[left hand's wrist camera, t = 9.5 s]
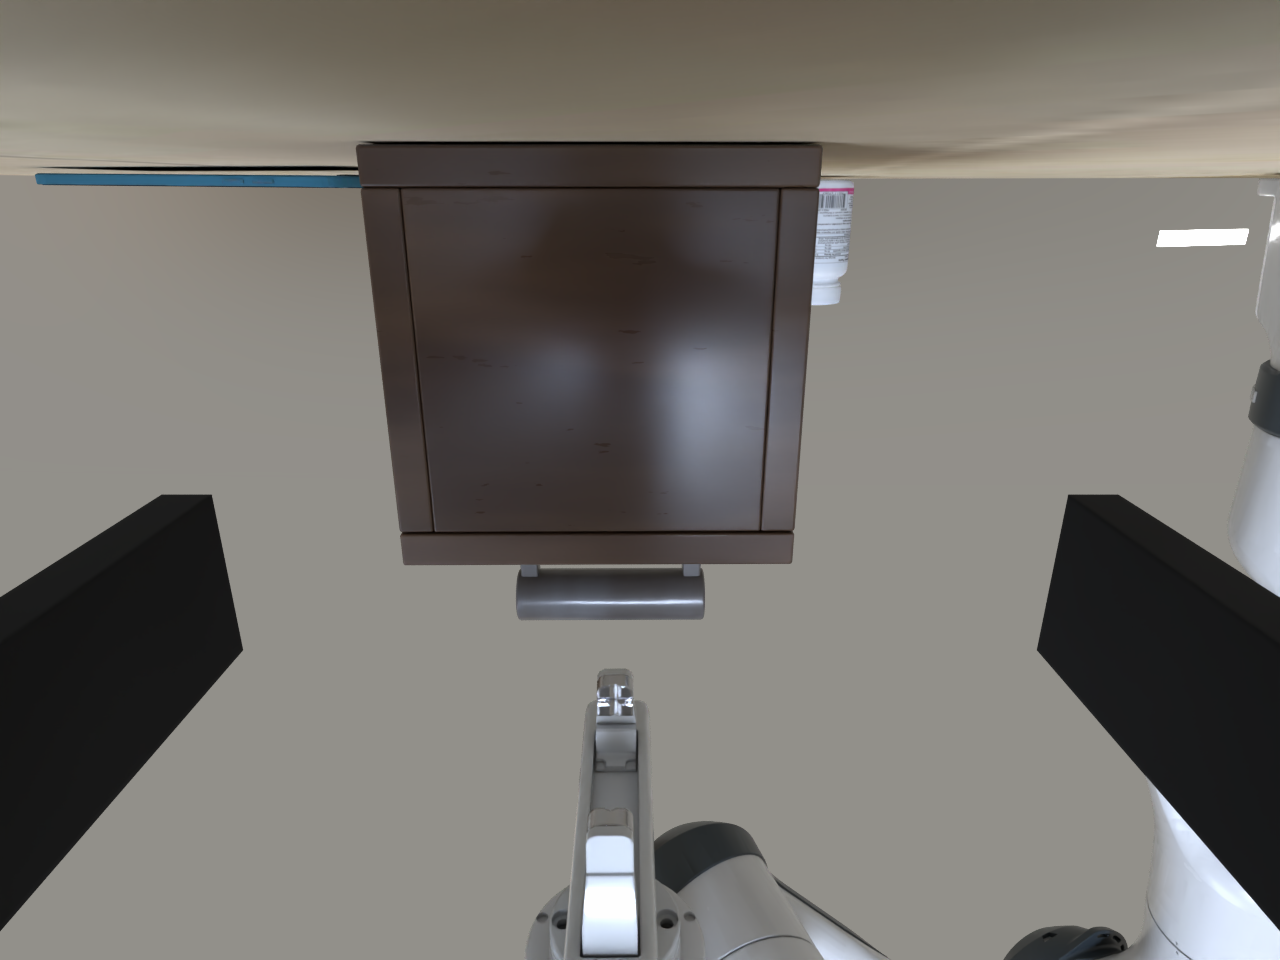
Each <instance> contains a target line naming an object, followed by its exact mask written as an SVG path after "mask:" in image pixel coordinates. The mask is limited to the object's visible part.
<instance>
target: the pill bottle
mask: <svg viewBox="0 0 1280 960" xmlns="http://www.w3.org/2000/svg"><path fill="white" fill-rule="evenodd" d="M817 188H818V189H819V191H820V194H819V207H818V221H817V234H816V248H815V261H814V274H813V288H812V301H811V305H829V304H836V303H839V301H840V294H841V286H840V284H841V283H840V282H838V278H839V277H841V276H842V275H843V274H845V272H846V270H847V266H848V254H849V243H850V231H851V218H852V207H853V194H854V183H853V181H851V180H820V185H819V187H817Z"/></svg>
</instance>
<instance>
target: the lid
mask: <svg viewBox="0 0 1280 960" xmlns="http://www.w3.org/2000/svg"><path fill="white" fill-rule="evenodd" d="M400 537H401V546H402V555H403V563H404V565H521V569H520V570H519V573H518V577H517V586H516V608H517V615H518V618H519V619H520V620H667V619H668V620H669V619H670V620H671V619H703V617H704V610H705V584H704V573H703V570H702V568H700V566H701V564H790V563H792V556H793V543H794V533H793V531H763V530H761V528H760V530H759V531H535V532H435V530H434V531H432V532H402V534H401V536H400ZM565 564H568V565H569V564H682V568H552V569H551V568H550V569H540V565H565Z"/></svg>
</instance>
